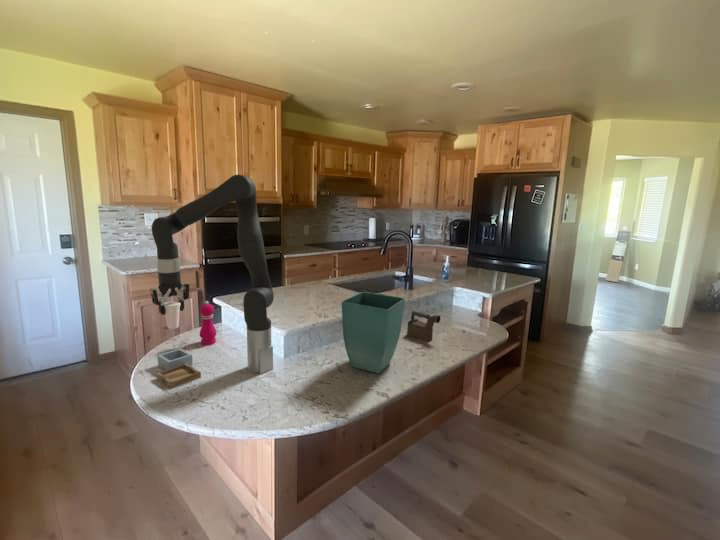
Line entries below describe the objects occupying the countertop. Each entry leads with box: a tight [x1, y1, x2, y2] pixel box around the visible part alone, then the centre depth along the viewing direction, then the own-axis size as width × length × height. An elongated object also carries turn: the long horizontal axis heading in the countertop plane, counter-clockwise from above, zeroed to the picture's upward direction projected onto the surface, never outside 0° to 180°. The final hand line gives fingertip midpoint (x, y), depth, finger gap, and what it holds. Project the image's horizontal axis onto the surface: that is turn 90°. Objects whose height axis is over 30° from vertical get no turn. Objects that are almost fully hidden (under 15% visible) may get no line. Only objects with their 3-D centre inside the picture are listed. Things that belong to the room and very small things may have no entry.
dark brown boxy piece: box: [406, 310, 441, 341], centre depth 188 cm, size 8×16×13 cm, turn 46°
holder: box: [157, 348, 194, 371], centre depth 149 cm, size 9×9×4 cm
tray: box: [156, 364, 202, 389], centre depth 139 cm, size 11×11×2 cm
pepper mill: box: [199, 300, 218, 346], centre depth 170 cm, size 7×7×20 cm
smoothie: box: [164, 296, 181, 330], centre depth 144 cm, size 6×6×14 cm
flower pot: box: [341, 291, 406, 374], centre depth 154 cm, size 20×20×28 cm
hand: (172, 312), depth 145 cm, fingers closed on smoothie, 6 cm apart
